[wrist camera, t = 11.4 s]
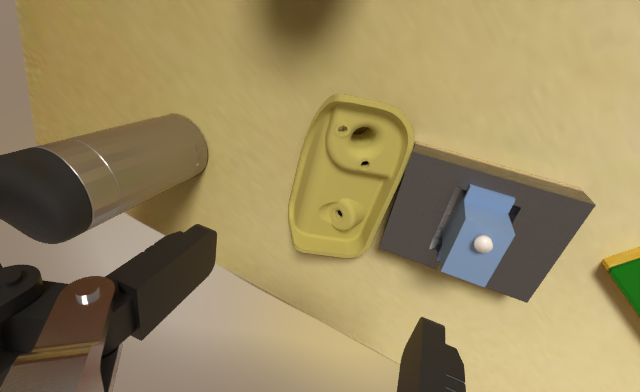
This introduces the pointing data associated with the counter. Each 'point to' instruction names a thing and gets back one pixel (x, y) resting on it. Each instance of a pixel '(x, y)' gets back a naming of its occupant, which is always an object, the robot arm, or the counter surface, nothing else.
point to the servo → (476, 235)
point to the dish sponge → (626, 274)
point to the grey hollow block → (525, 215)
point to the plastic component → (347, 175)
